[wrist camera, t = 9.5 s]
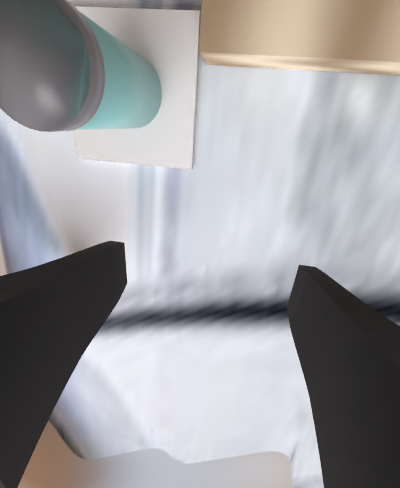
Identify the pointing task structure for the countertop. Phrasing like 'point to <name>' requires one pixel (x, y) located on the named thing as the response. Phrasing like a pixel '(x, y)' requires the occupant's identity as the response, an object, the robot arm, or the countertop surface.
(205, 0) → the tan board with hole
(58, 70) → the plug
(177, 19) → the mat
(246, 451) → the countertop surface
